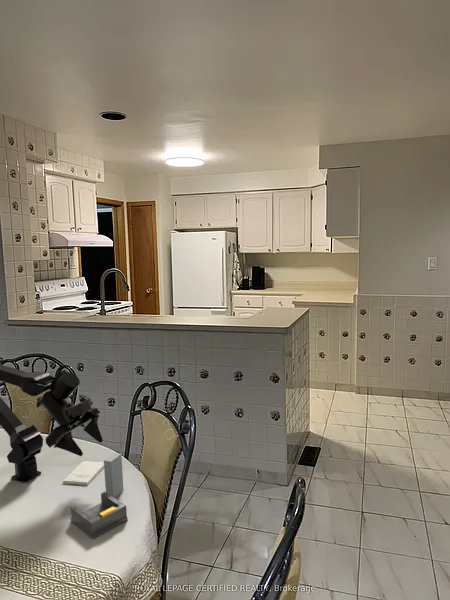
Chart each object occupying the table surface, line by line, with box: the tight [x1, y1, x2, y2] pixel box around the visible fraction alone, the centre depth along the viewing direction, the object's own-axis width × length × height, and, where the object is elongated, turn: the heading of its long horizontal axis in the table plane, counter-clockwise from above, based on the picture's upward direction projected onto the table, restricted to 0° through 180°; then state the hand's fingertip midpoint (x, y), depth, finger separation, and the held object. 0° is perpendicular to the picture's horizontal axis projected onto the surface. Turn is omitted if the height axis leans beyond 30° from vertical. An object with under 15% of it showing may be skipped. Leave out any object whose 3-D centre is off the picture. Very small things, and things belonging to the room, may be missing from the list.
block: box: [103, 452, 124, 499], centre depth 128 cm, size 2×5×11 cm, turn 160°
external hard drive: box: [62, 460, 104, 486], centre depth 140 cm, size 2×8×12 cm
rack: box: [70, 491, 129, 540], centre depth 115 cm, size 11×10×5 cm
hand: (92, 448), depth 129 cm, fingers open, 9 cm apart
